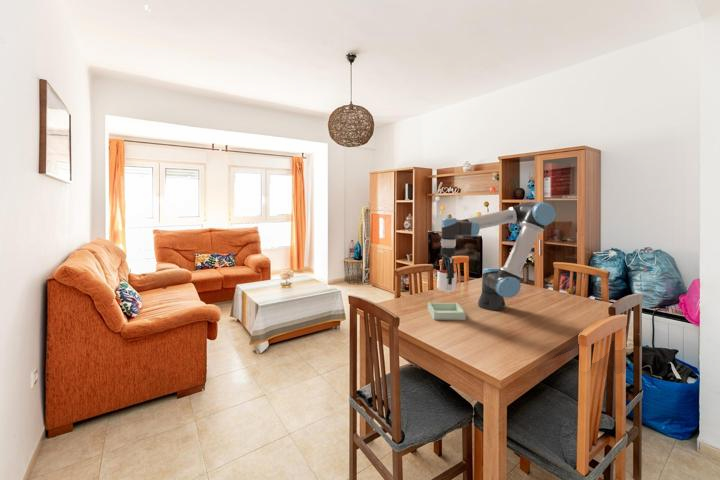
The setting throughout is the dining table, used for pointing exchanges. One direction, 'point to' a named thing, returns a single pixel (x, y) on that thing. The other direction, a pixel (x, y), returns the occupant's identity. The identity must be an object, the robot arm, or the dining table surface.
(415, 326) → the dining table surface
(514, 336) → the dining table surface
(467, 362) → the dining table surface
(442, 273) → the cup
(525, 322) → the dining table surface
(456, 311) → the pale green square tray
